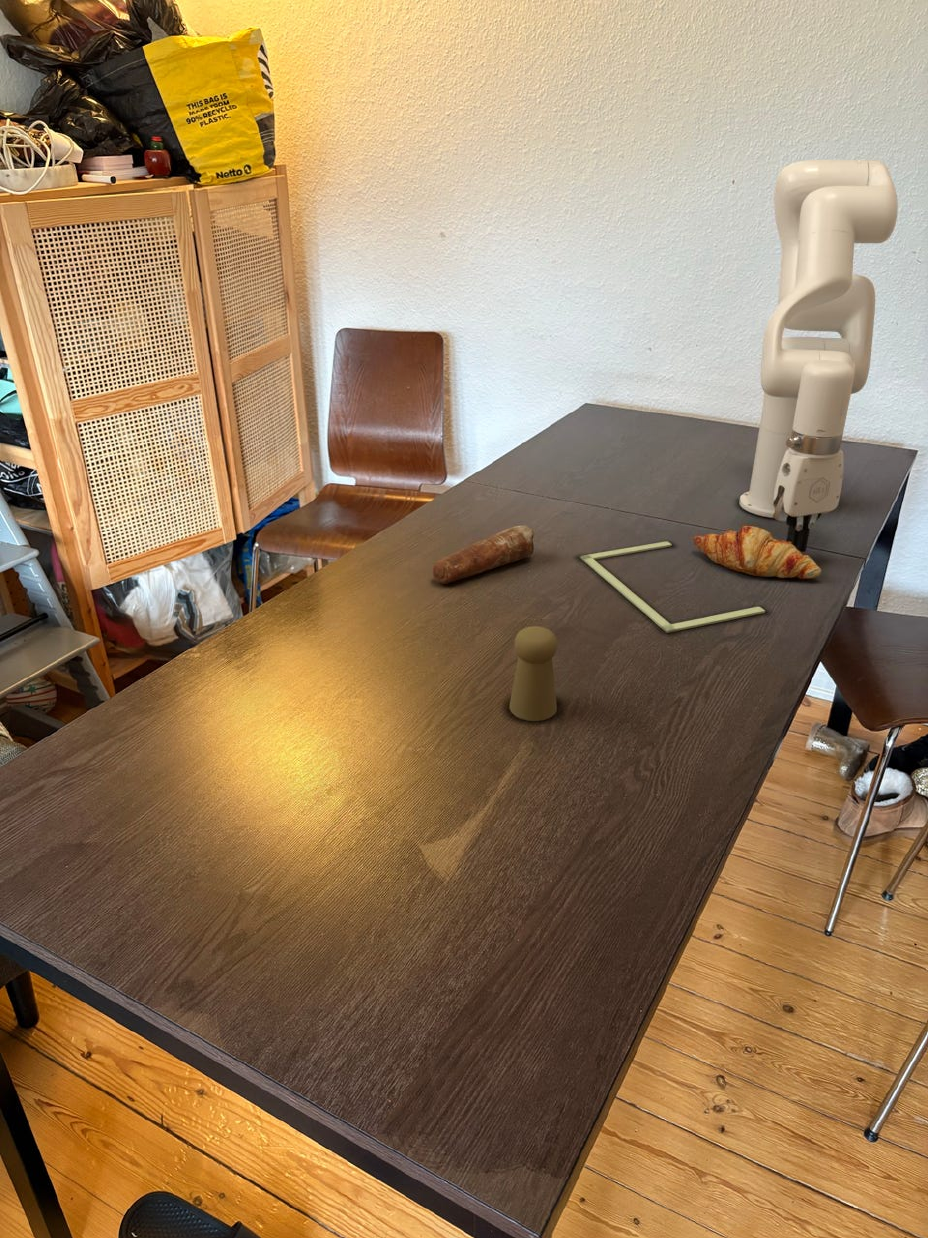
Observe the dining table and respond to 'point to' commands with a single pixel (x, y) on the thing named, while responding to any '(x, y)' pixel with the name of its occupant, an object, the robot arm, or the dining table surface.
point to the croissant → (757, 554)
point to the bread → (485, 555)
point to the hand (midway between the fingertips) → (795, 548)
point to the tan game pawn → (534, 675)
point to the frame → (647, 609)
